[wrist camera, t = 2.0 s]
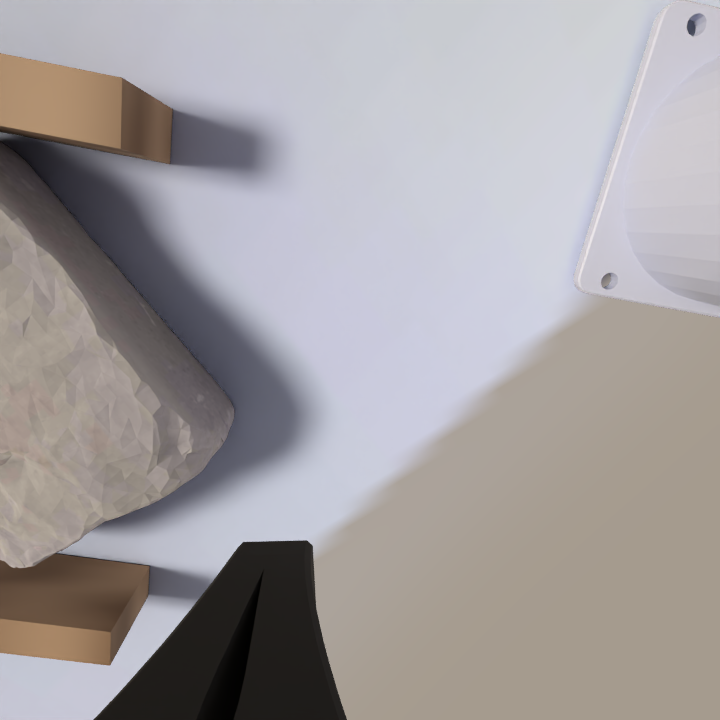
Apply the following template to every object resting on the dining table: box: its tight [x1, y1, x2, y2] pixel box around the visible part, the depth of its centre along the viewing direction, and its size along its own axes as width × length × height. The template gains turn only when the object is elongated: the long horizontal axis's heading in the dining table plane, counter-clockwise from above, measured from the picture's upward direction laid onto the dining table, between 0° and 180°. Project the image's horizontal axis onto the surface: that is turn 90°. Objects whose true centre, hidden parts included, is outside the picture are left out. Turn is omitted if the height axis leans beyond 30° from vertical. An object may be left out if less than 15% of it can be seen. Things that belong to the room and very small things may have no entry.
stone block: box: [0, 142, 234, 568], centre depth 14 cm, size 12×5×10 cm
